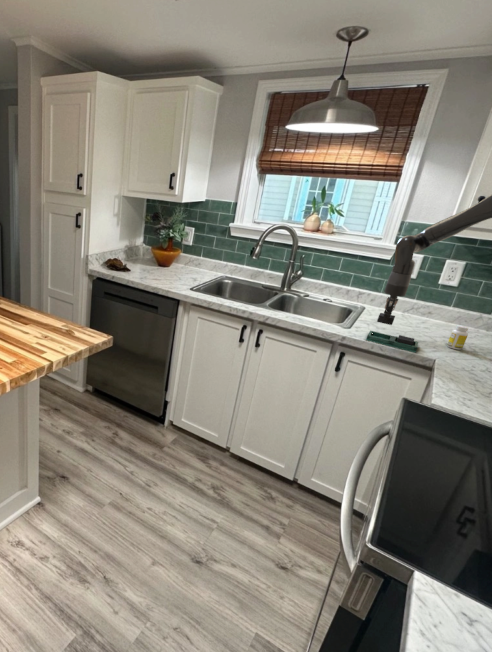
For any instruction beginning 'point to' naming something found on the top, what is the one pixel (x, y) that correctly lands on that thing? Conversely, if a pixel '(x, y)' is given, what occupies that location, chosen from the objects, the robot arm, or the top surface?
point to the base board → (390, 341)
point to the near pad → (405, 340)
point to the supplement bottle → (458, 337)
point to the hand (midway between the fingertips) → (385, 321)
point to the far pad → (388, 321)
